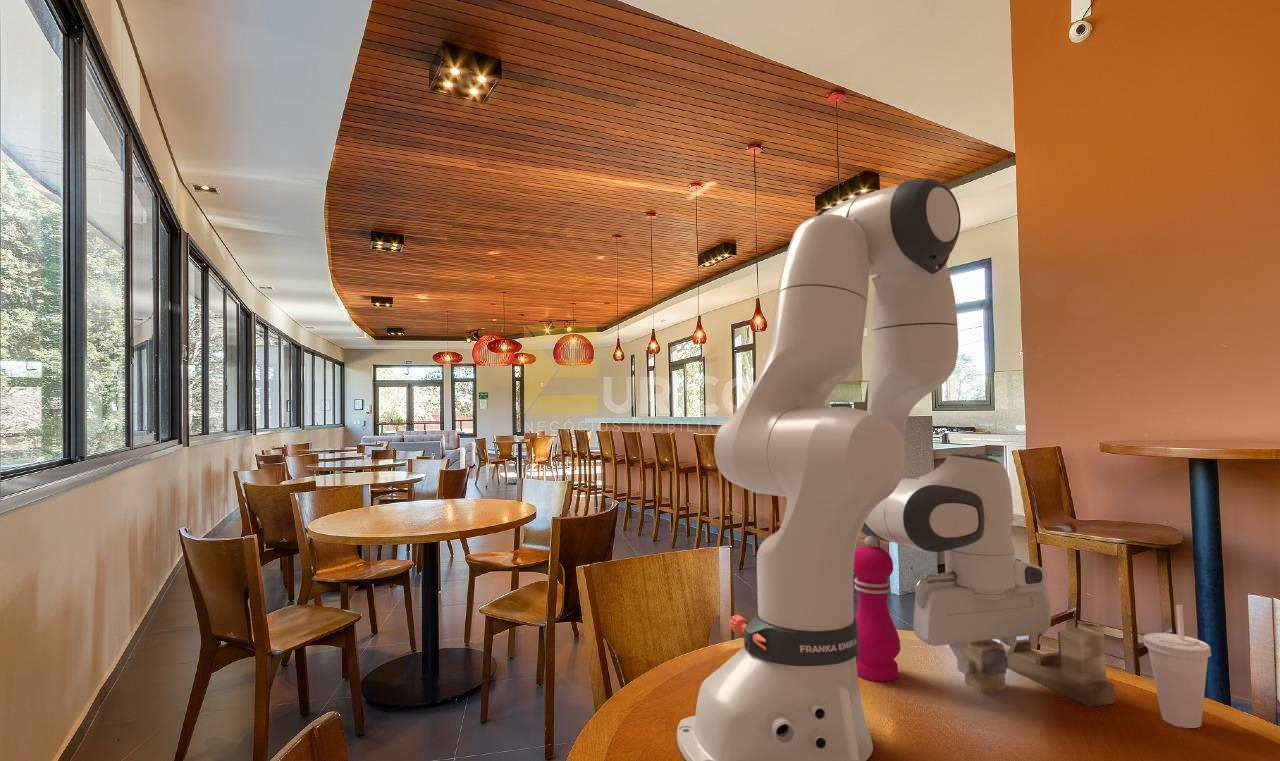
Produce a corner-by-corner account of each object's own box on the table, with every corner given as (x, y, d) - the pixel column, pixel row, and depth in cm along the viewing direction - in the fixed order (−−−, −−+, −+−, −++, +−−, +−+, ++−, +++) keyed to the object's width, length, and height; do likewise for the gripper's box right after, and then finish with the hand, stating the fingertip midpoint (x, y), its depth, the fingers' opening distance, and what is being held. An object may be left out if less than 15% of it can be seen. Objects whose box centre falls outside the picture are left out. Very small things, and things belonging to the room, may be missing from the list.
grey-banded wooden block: (985, 694, 87) (983, 649, 87) (965, 683, 90) (963, 640, 91) (1010, 691, 88) (1008, 646, 88) (988, 680, 91) (987, 637, 92)
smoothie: (1229, 736, 75) (1222, 614, 76) (1167, 731, 76) (1160, 611, 77) (1194, 711, 81) (1187, 599, 82) (1136, 707, 82) (1130, 597, 83)
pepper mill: (893, 687, 89) (888, 542, 90) (842, 675, 94) (838, 537, 95) (907, 670, 95) (902, 534, 96) (858, 660, 99) (854, 530, 101)
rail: (1090, 707, 83) (1086, 639, 83) (1004, 666, 96) (1001, 608, 97) (1114, 703, 84) (1111, 636, 84) (1026, 663, 97) (1023, 606, 98)
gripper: (931, 580, 85) (935, 687, 84) (1057, 570, 90) (1062, 671, 89) (901, 569, 91) (904, 669, 90) (1020, 560, 96) (1024, 654, 95)
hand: (984, 670), depth 90 cm, fingers open, 4 cm apart
